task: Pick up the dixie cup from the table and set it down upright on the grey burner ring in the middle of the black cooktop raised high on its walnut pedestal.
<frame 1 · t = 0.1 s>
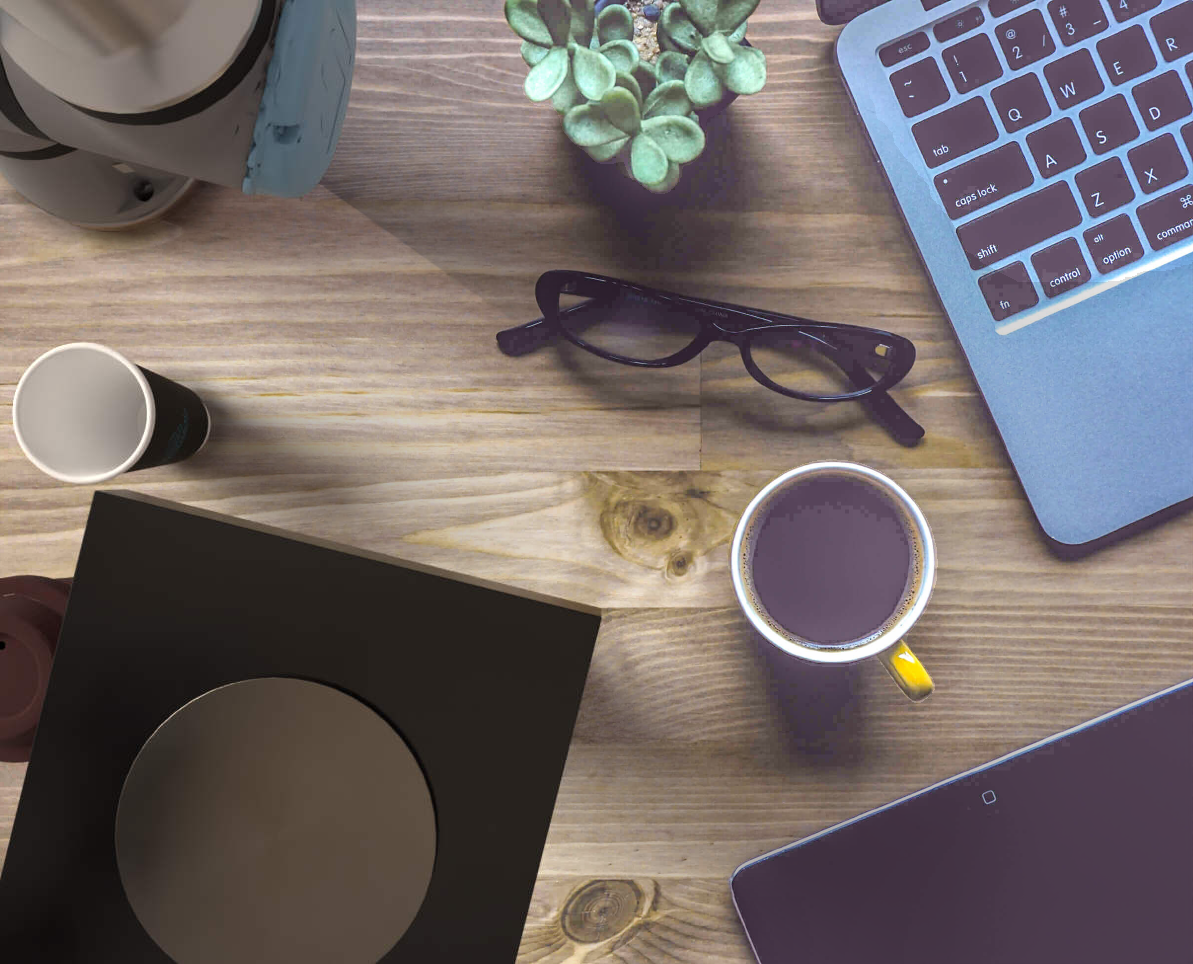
dixie cup: (177, 424, 61), on the table
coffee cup: (142, 626, 61), on the table
stove: (278, 834, 31), resting on pedestal
pedestal: (436, 656, 61), on the table
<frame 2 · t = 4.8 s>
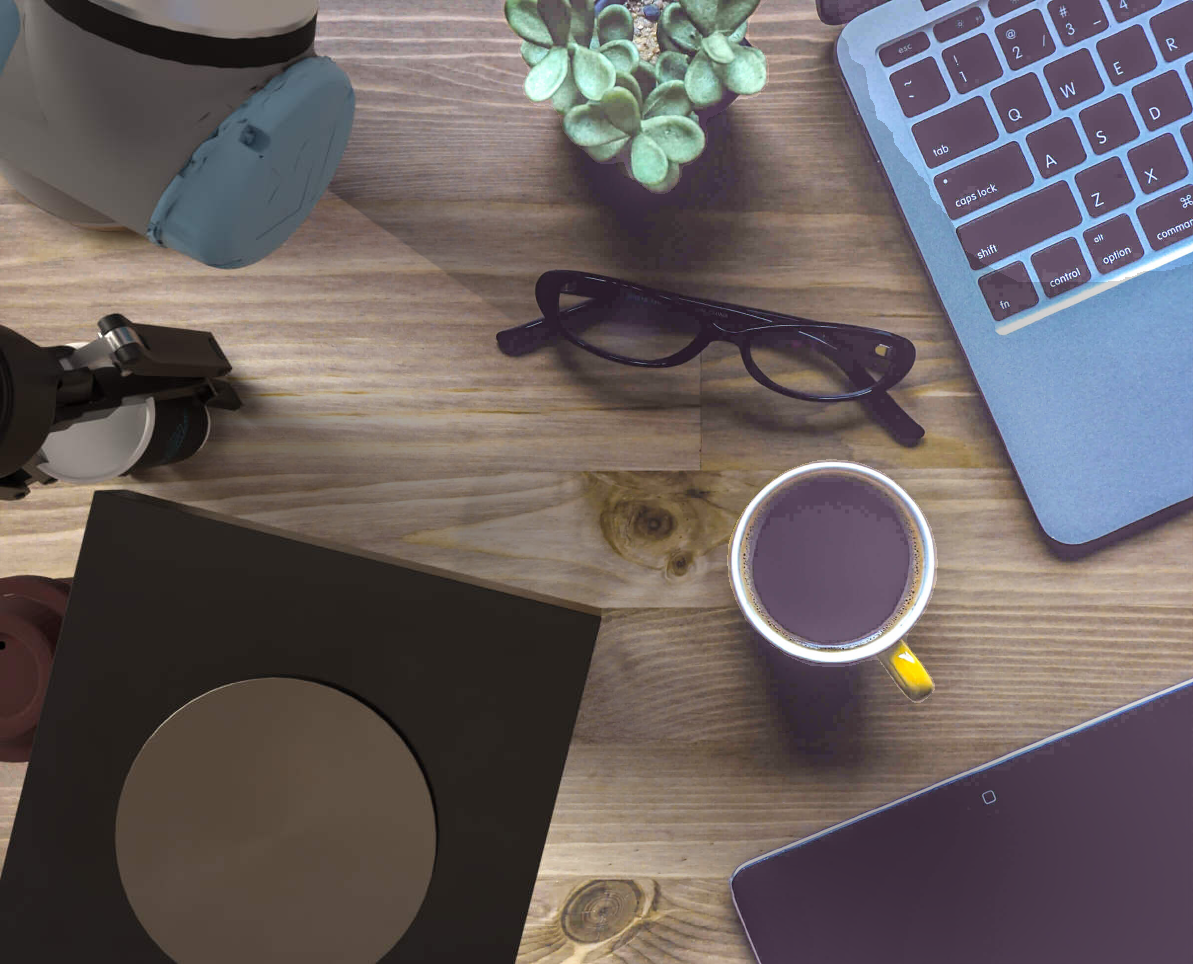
hand: (173, 423, 60), 0 cm above the table, tool pointing down, fingers closed on dixie cup, 8 cm apart
dixie cup: (177, 424, 61), on the table, touching gripper
everything else where it was.
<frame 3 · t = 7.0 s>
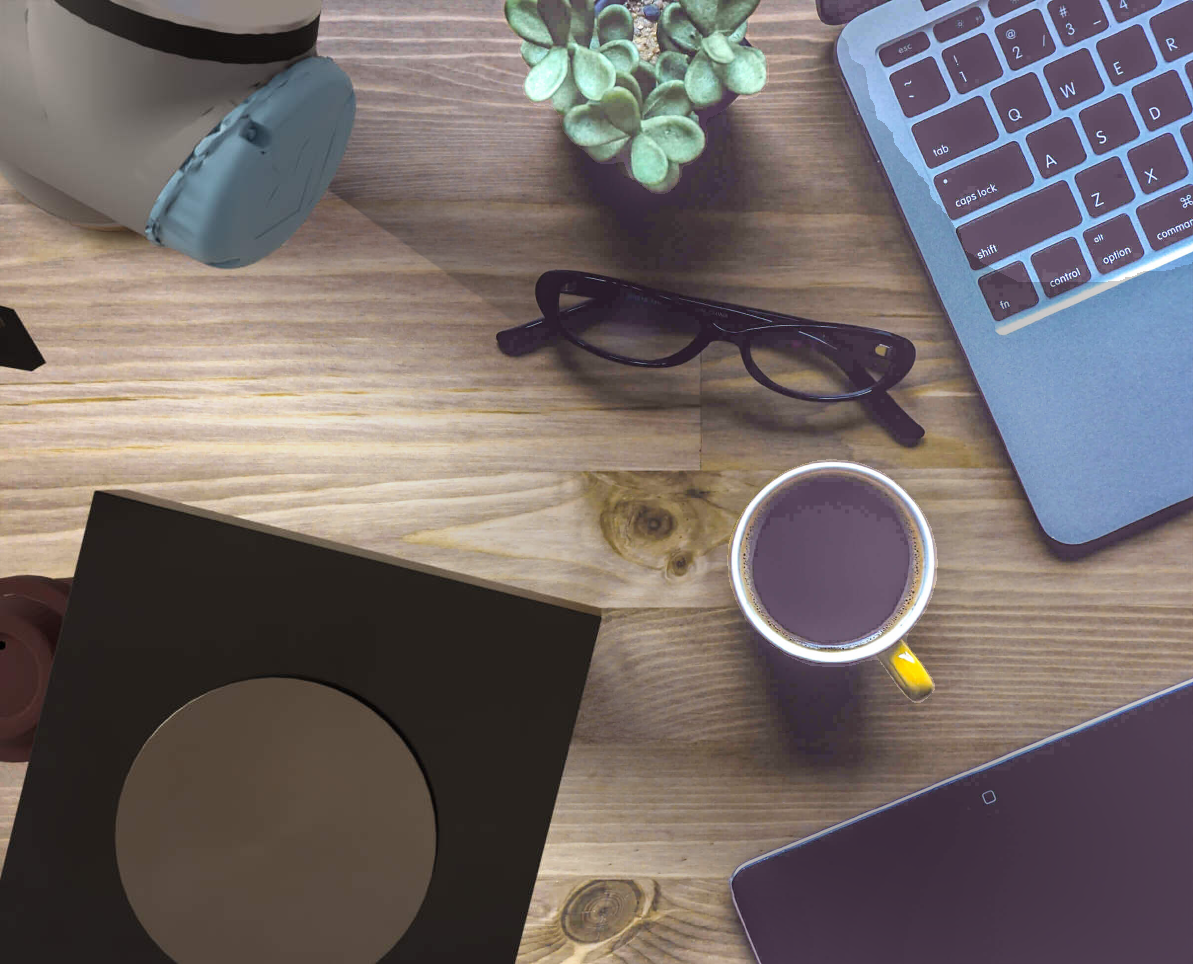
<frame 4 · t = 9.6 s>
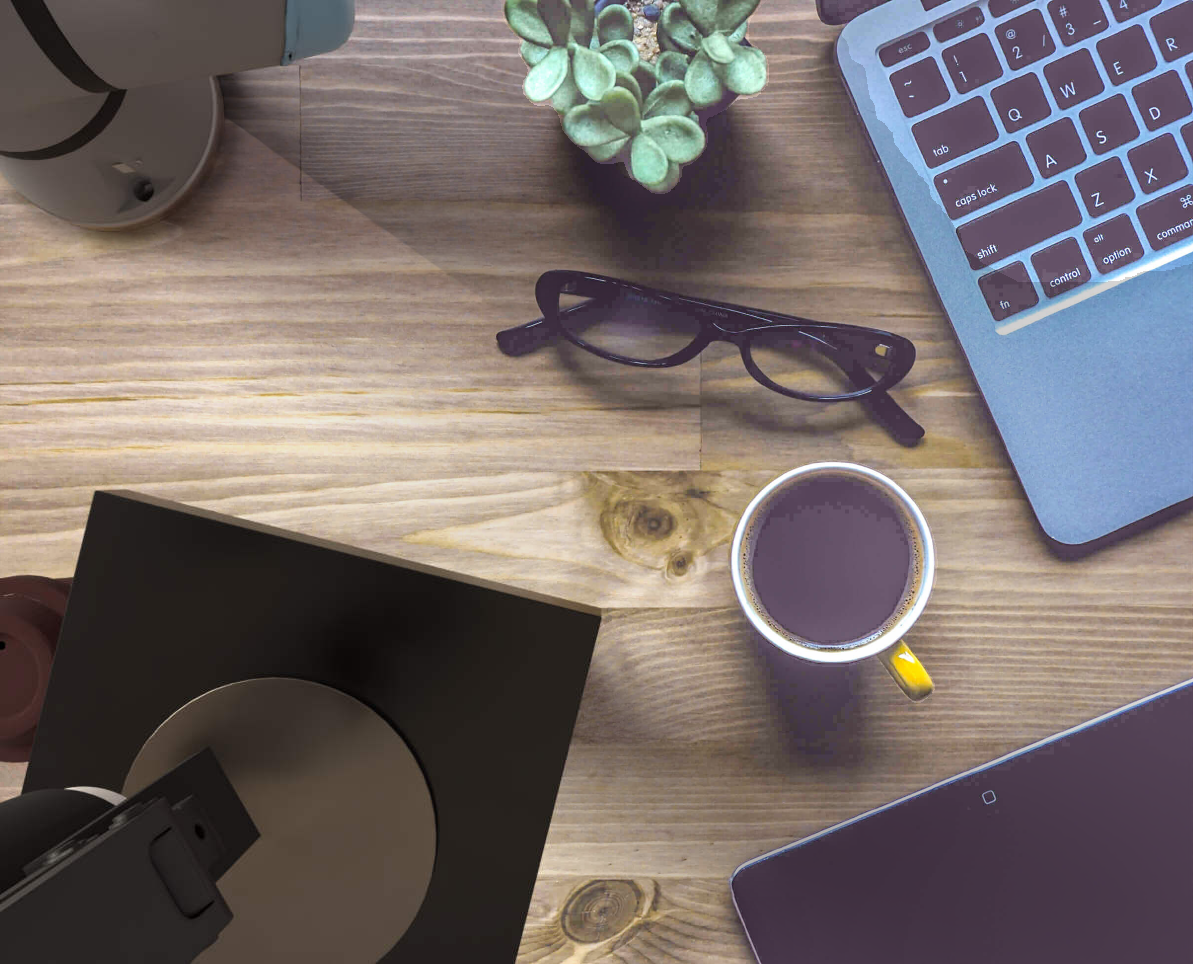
hand: (79, 881, 23), 38 cm above the table, tool pointing down, fingers closed on dixie cup, 8 cm apart
dixie cup: (87, 874, 24), point 37 cm above the table, touching gripper
everything else where it was.
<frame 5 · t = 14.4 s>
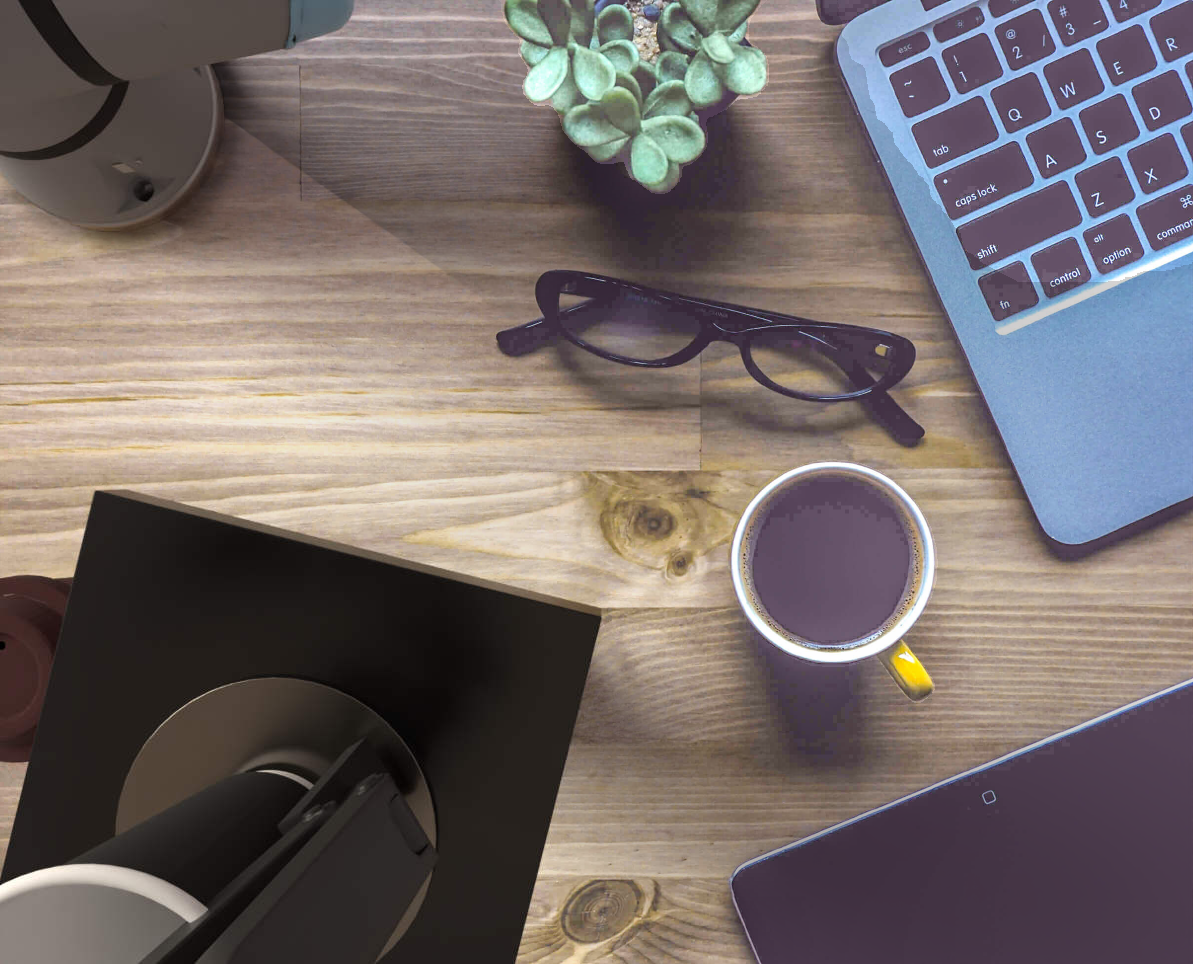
hand: (268, 842, 30), 31 cm above the table, tool pointing down, fingers closed on dixie cup, 8 cm apart
dixie cup: (272, 837, 30), point 31 cm above the table, touching gripper
everything else where it was.
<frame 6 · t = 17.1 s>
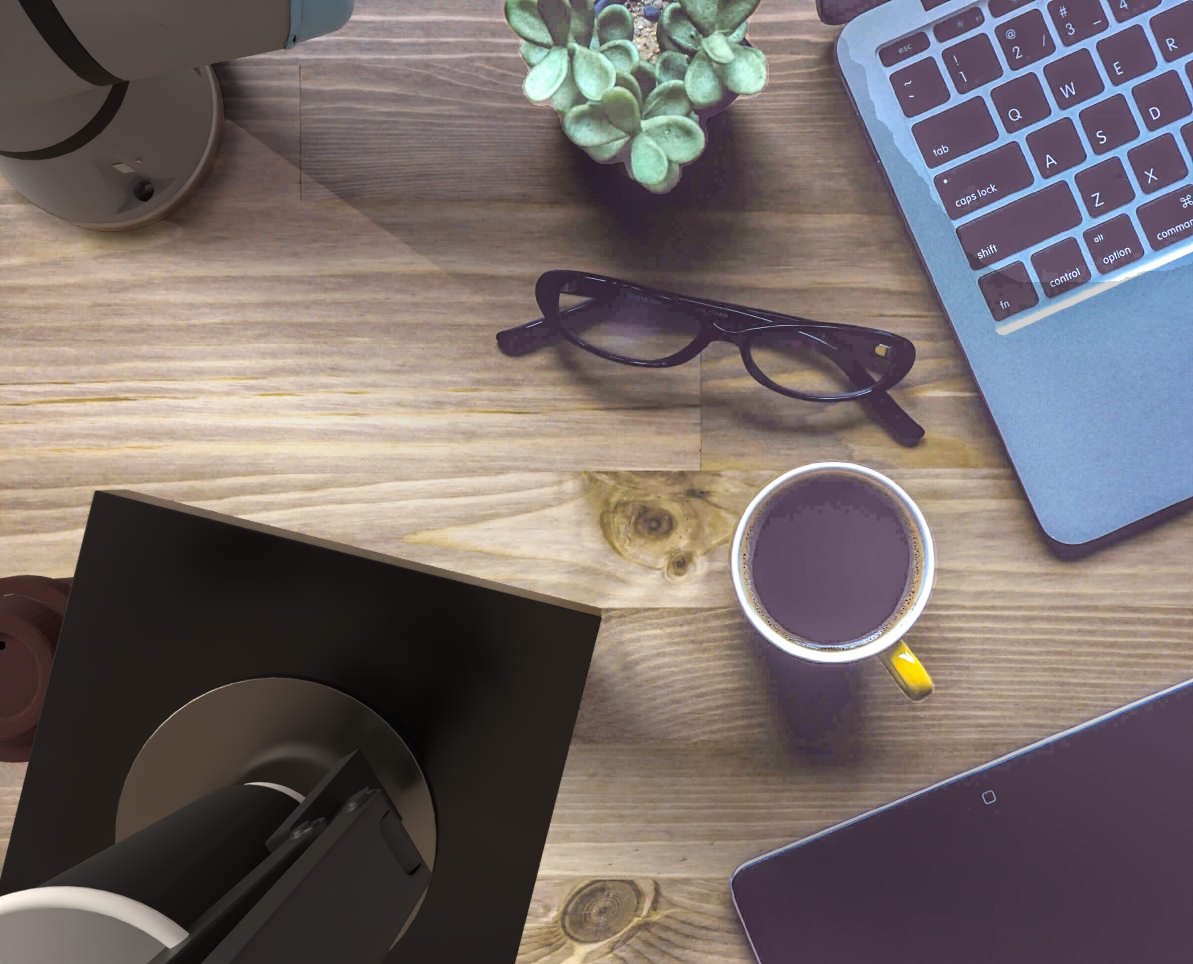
hand: (258, 857, 29), 32 cm above the table, tool pointing down, fingers closed on dixie cup, 8 cm apart
dixie cup: (263, 852, 29), point 31 cm above the table, touching gripper
everything else where it was.
when the fingers open (32 cm above the table, at t = 19.2 s): dixie cup drops 1 cm, resting on stove.
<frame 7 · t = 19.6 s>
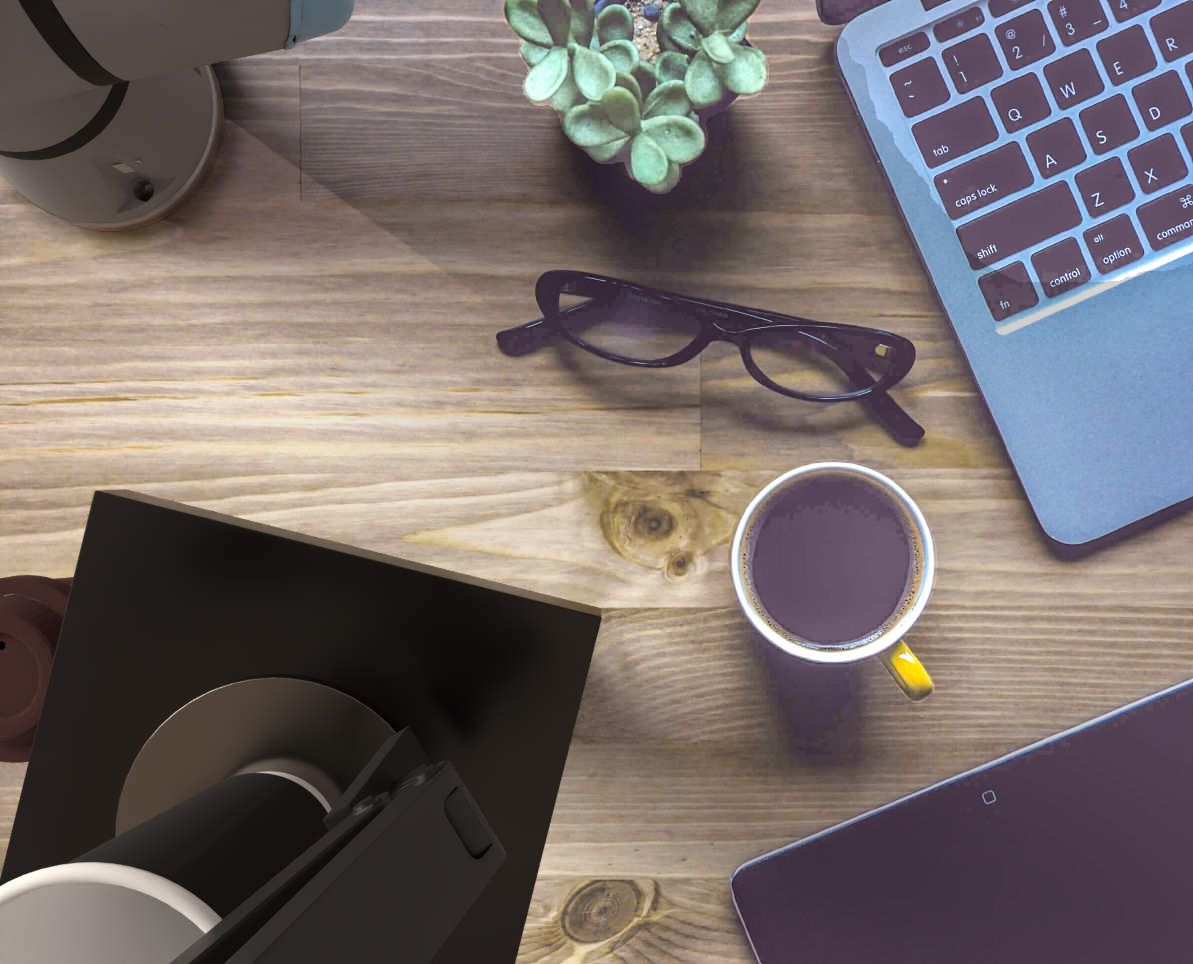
hand: (241, 876, 28), 33 cm above the table, tool pointing down, fingers open, 12 cm apart
dixie cup: (272, 838, 31), point 30 cm above the table, touching stove
everything else where it was.
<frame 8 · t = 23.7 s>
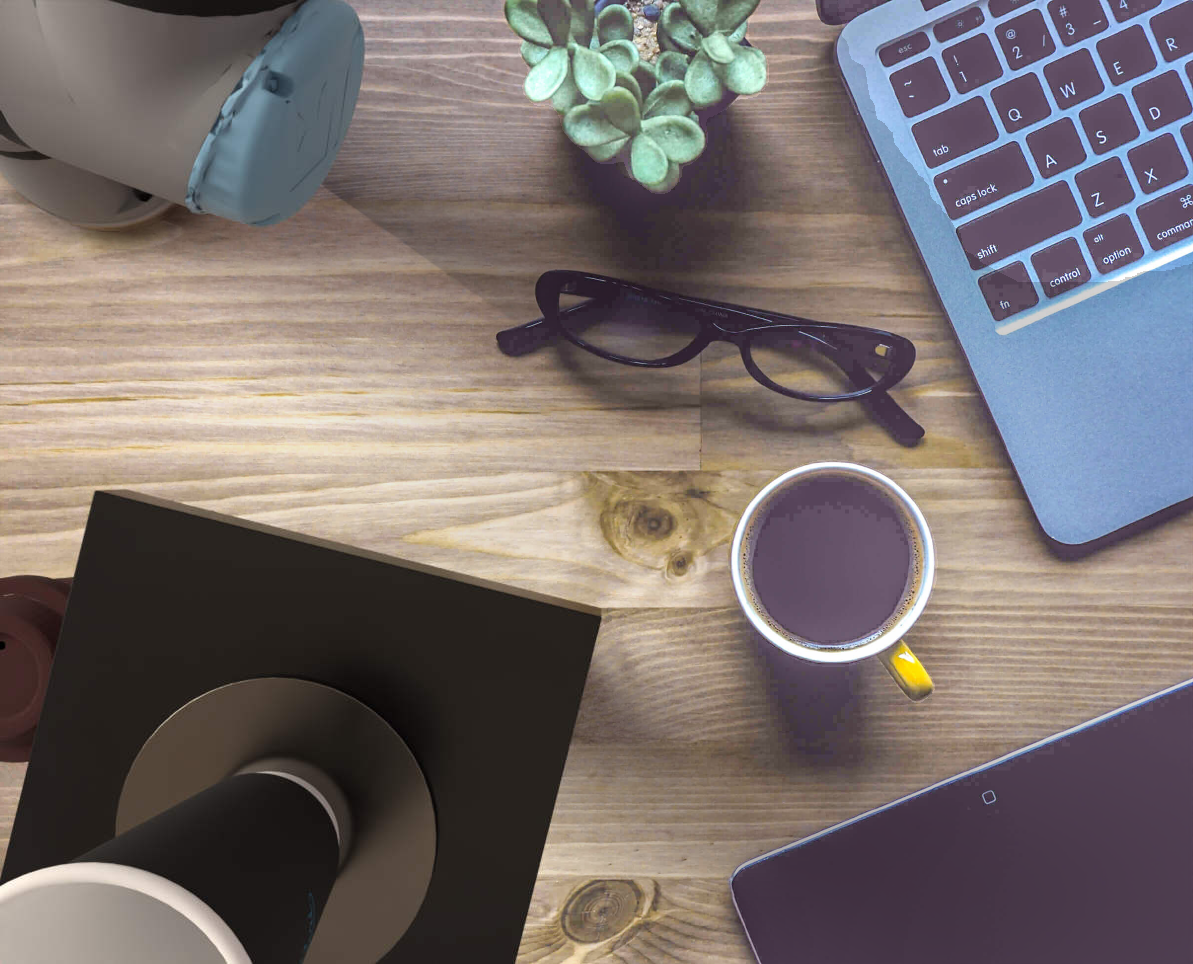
nothing on the table moved.
at the end: dixie cup inside the target area on the stove (0.2 cm from its centre), point 0.1 cm above the stove's base; dixie cup tilted 0° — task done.
